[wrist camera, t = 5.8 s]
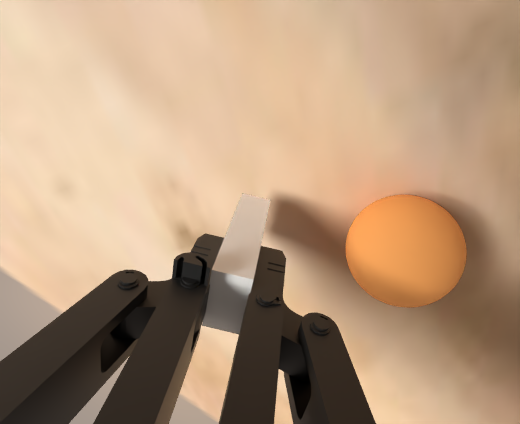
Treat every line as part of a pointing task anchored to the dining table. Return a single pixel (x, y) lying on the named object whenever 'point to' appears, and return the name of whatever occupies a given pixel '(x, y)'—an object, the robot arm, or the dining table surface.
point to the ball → (406, 251)
